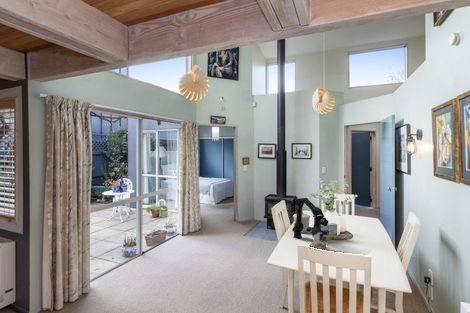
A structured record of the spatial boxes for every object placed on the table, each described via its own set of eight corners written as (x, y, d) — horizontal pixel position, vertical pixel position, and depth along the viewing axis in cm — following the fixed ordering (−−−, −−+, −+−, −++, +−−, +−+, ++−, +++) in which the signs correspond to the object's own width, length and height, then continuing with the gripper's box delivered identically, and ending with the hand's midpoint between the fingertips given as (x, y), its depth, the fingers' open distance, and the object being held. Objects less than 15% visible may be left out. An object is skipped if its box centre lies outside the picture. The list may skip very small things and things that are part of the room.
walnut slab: (309, 248, 223) (309, 245, 223) (314, 244, 232) (314, 241, 232) (321, 251, 216) (321, 248, 216) (326, 247, 225) (326, 244, 225)
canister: (307, 235, 257) (307, 214, 256) (290, 232, 267) (290, 212, 266) (312, 230, 272) (312, 210, 271) (296, 227, 282) (296, 208, 281)
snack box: (317, 241, 240) (317, 225, 239) (314, 239, 245) (314, 223, 245) (337, 239, 244) (337, 223, 243) (334, 237, 249) (334, 222, 249)
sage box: (313, 241, 224) (313, 234, 223) (315, 240, 227) (315, 233, 227) (319, 243, 220) (319, 235, 220) (321, 241, 224) (321, 234, 224)
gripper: (303, 223, 223) (303, 240, 224) (324, 227, 211) (324, 245, 212) (308, 220, 232) (309, 237, 232) (329, 224, 220) (329, 241, 220)
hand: (317, 240), depth 224 cm, fingers closed on sage box, 5 cm apart
